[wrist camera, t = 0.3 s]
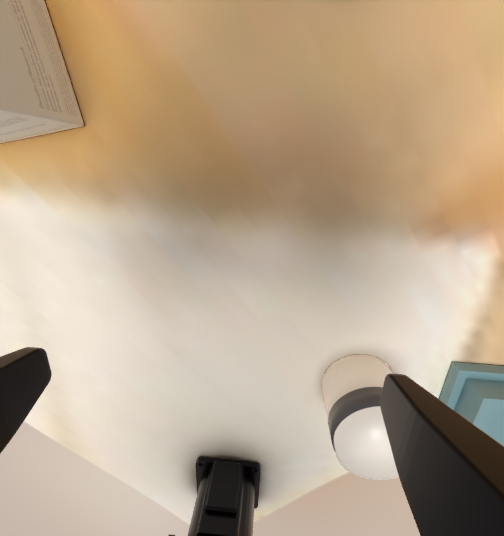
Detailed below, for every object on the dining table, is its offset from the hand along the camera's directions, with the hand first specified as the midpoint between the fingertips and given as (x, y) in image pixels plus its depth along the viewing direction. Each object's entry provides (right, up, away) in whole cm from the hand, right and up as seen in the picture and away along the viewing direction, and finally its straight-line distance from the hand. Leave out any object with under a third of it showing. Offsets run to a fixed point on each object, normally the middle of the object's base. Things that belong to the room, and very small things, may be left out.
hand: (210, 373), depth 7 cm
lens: (+10, -7, +17) cm, 21 cm away
